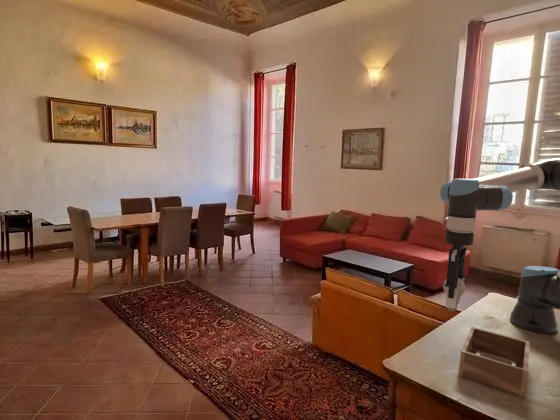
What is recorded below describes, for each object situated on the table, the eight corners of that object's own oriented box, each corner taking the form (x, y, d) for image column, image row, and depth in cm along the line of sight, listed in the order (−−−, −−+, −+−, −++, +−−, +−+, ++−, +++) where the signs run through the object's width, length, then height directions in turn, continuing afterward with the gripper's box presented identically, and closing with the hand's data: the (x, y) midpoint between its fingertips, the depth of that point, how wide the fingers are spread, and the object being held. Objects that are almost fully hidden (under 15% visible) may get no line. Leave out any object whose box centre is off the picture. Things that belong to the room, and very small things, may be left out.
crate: (469, 348, 122) (471, 326, 121) (526, 365, 113) (529, 341, 112) (458, 376, 106) (461, 351, 105) (524, 398, 97) (527, 371, 96)
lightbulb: (436, 308, 114) (439, 274, 113) (451, 306, 117) (455, 273, 115) (451, 316, 109) (455, 281, 107) (467, 314, 111) (471, 279, 109)
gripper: (452, 224, 119) (446, 292, 122) (438, 233, 104) (431, 310, 107) (478, 227, 114) (471, 298, 118) (468, 237, 99) (459, 318, 103)
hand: (452, 304), depth 112 cm, fingers closed on lightbulb, 6 cm apart
